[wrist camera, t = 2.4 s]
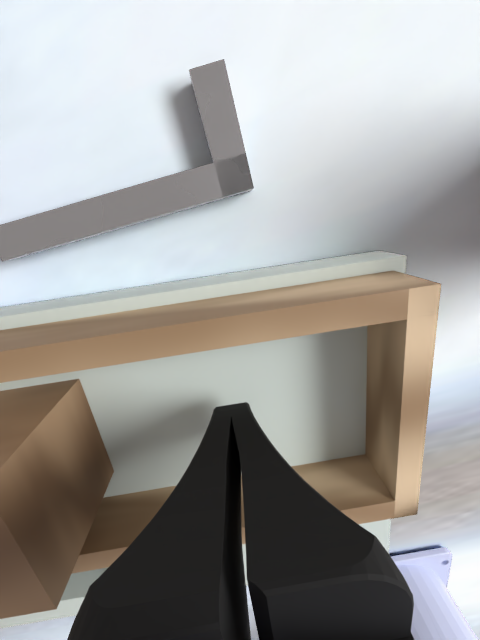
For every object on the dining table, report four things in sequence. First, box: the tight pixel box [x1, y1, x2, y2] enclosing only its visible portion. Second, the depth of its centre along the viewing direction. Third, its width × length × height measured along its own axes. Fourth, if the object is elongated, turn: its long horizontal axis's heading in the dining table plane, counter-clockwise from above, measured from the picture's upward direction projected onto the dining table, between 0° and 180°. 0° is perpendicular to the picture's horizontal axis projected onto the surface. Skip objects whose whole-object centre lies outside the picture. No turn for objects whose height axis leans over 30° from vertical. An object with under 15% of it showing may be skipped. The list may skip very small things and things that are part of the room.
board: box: [0, 251, 407, 629], centre depth 14 cm, size 18×28×2 cm, turn 98°
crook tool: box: [0, 59, 254, 261], centre depth 11 cm, size 10×4×1 cm, turn 105°
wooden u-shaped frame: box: [0, 271, 441, 574], centre depth 11 cm, size 10×16×2 cm, turn 98°
